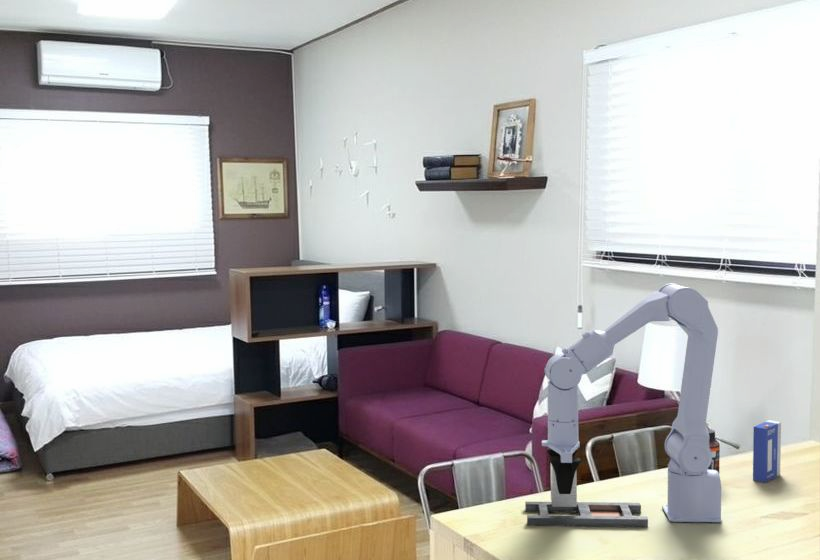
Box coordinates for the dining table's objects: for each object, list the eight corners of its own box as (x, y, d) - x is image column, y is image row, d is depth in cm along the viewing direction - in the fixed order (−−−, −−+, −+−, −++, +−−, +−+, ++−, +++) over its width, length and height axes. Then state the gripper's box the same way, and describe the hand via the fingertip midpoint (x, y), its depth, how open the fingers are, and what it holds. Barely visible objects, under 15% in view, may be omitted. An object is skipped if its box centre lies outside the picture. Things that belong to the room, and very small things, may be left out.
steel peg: (574, 498, 168) (574, 458, 167) (576, 506, 164) (576, 465, 163) (550, 498, 168) (550, 458, 168) (552, 506, 164) (552, 465, 163)
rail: (639, 510, 169) (639, 502, 169) (647, 527, 160) (647, 519, 160) (525, 508, 171) (525, 501, 171) (527, 525, 162) (527, 517, 162)
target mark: (618, 513, 168) (618, 511, 168) (622, 523, 163) (622, 521, 163) (589, 512, 168) (589, 511, 168) (593, 523, 163) (593, 521, 163)
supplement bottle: (721, 487, 182) (721, 434, 181) (691, 486, 183) (691, 433, 182) (717, 478, 188) (717, 427, 187) (688, 477, 189) (688, 426, 188)
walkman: (765, 483, 184) (766, 427, 183) (752, 480, 186) (753, 425, 185) (781, 474, 190) (782, 420, 189) (768, 471, 192) (769, 418, 191)
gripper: (539, 409, 172) (540, 476, 173) (544, 428, 158) (544, 501, 159) (575, 409, 171) (575, 477, 173) (583, 428, 157) (583, 502, 158)
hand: (563, 489), depth 166 cm, fingers closed on steel peg, 4 cm apart
